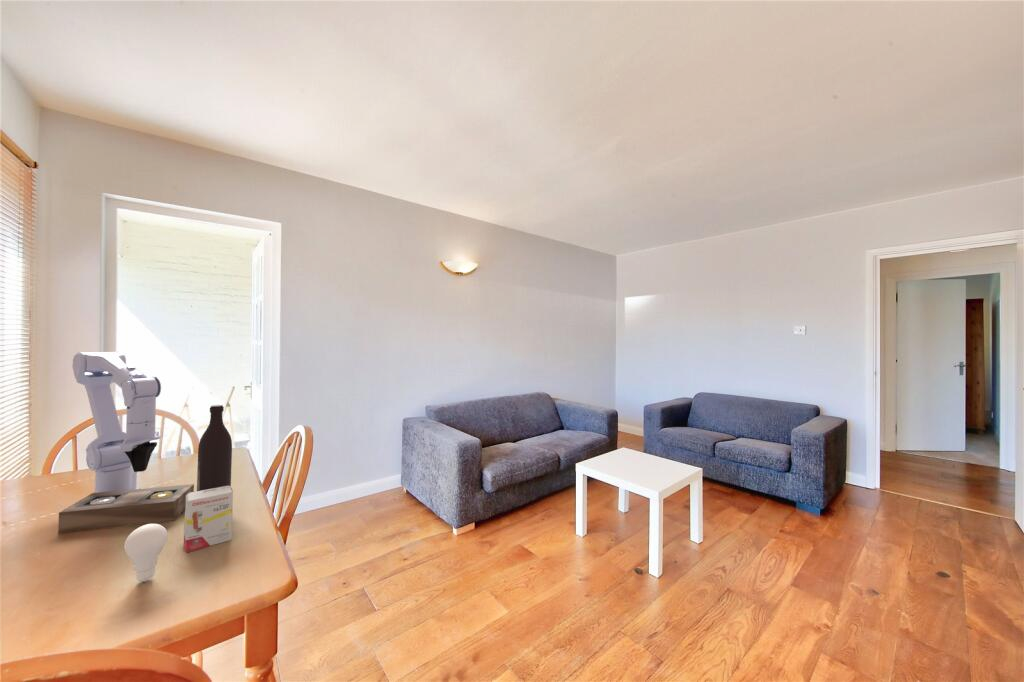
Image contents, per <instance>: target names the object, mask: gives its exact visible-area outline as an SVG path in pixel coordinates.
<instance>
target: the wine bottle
mask: <svg viewBox="0 0 1024 682" xmlns="http://www.w3.org/2000/svg"><path fill="white" fill-rule="evenodd" d="M224 407H225V406H223V404H213V405H210V407H209V413H210V419H209V423H208V426H207V427H206V429H205V431H204V432H203V433H202V435H201V437H200V439H199V441H198V450H197V474H196V476H197V477H196V491H202V490H207V489H213V488H218V487H223V486H231V487H232V461H233V459H232V457H233V442H232V440H233V439H232V436H231V434H230V432H229V431H228V429H227V428H226V426H225V424H224V420H223V412H224V409H225V408H224Z"/></svg>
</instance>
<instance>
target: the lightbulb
mask: <svg viewBox="0 0 1024 682" xmlns="http://www.w3.org/2000/svg"><path fill="white" fill-rule="evenodd" d="M168 536H169V534H168V530H167V529H166V528H165V527H164V526H163V525H162V524H158V523H146V524H142V525H141V526H139V527H137V528H136V529H134V530H133V531H132V532H130V534H129V535H128V536H127V538H126V539H125V542H124V551H125V554H127V557H129V558H130V559H131V560H132V562H133V565H134V571H135V574H136V581H138V582H142V583H146V582H148V581H149V580H150V579H151V578H153V577H154V576H155V572H156V571H155V570H156V566H157V564H158V558H159V556H160V553H161V552H162V550H163V548H164V546H165V545H166V544H167V541H168Z"/></svg>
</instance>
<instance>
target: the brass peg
mask: <svg viewBox="0 0 1024 682" xmlns="http://www.w3.org/2000/svg"><path fill="white" fill-rule="evenodd" d="M172 494H173V492H171V491H165V492H159V493H156V494H153V495H151V497H150V499H154V498H164V497H170V496H171V495H172Z"/></svg>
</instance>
